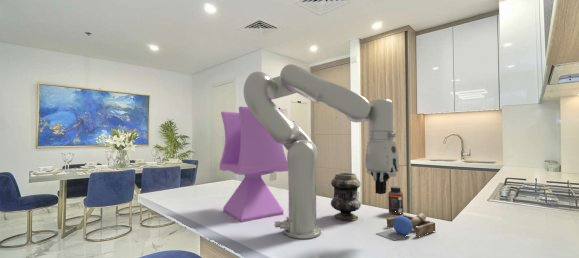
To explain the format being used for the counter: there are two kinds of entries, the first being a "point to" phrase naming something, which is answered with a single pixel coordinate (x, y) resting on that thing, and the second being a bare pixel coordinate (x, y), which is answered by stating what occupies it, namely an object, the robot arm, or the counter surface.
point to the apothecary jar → (345, 196)
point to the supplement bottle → (395, 201)
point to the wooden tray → (422, 227)
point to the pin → (418, 219)
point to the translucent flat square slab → (391, 234)
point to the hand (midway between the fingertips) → (380, 193)
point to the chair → (251, 165)
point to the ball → (402, 225)
